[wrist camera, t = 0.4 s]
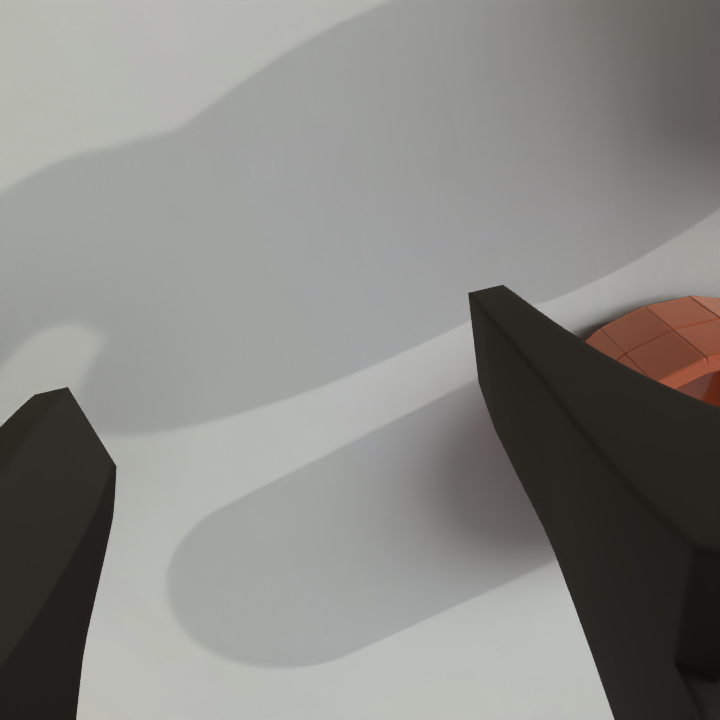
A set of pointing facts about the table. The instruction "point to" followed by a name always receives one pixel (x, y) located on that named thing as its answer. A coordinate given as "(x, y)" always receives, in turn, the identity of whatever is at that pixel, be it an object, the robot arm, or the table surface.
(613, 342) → the bowl
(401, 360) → the table surface
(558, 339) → the robot arm
